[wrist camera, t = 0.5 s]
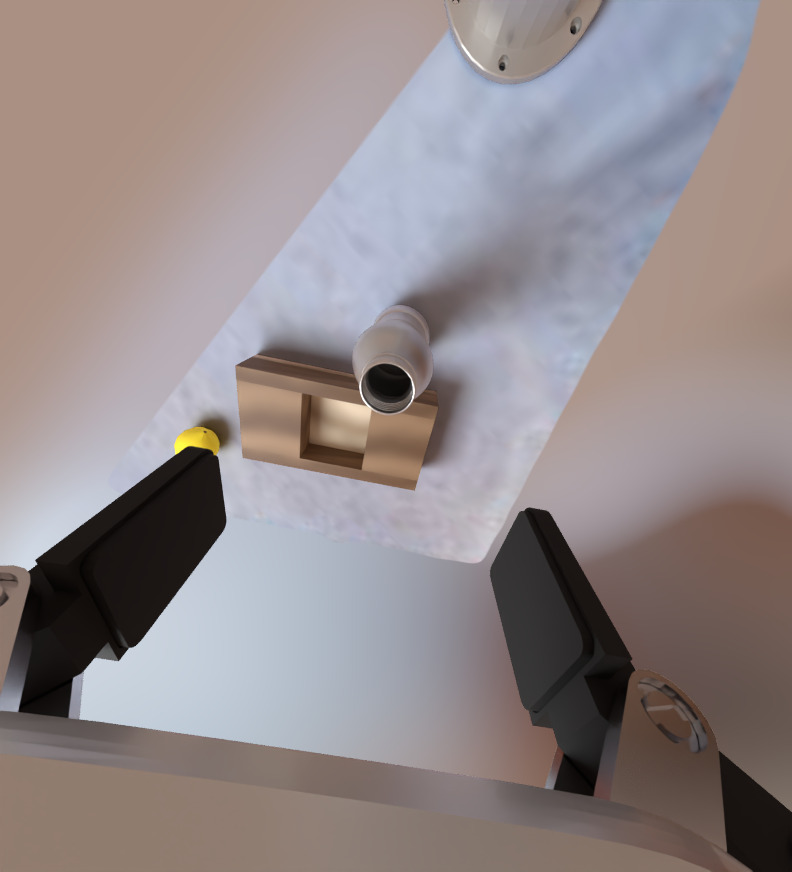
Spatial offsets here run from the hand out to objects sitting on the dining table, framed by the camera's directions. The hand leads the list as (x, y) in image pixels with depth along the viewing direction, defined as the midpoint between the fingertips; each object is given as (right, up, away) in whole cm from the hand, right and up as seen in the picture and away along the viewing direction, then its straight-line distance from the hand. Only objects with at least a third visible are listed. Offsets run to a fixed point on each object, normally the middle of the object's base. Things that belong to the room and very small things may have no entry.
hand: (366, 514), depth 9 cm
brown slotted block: (-7, +5, +33) cm, 34 cm away
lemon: (-28, +2, +36) cm, 46 cm away
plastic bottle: (+2, +15, +27) cm, 31 cm away
